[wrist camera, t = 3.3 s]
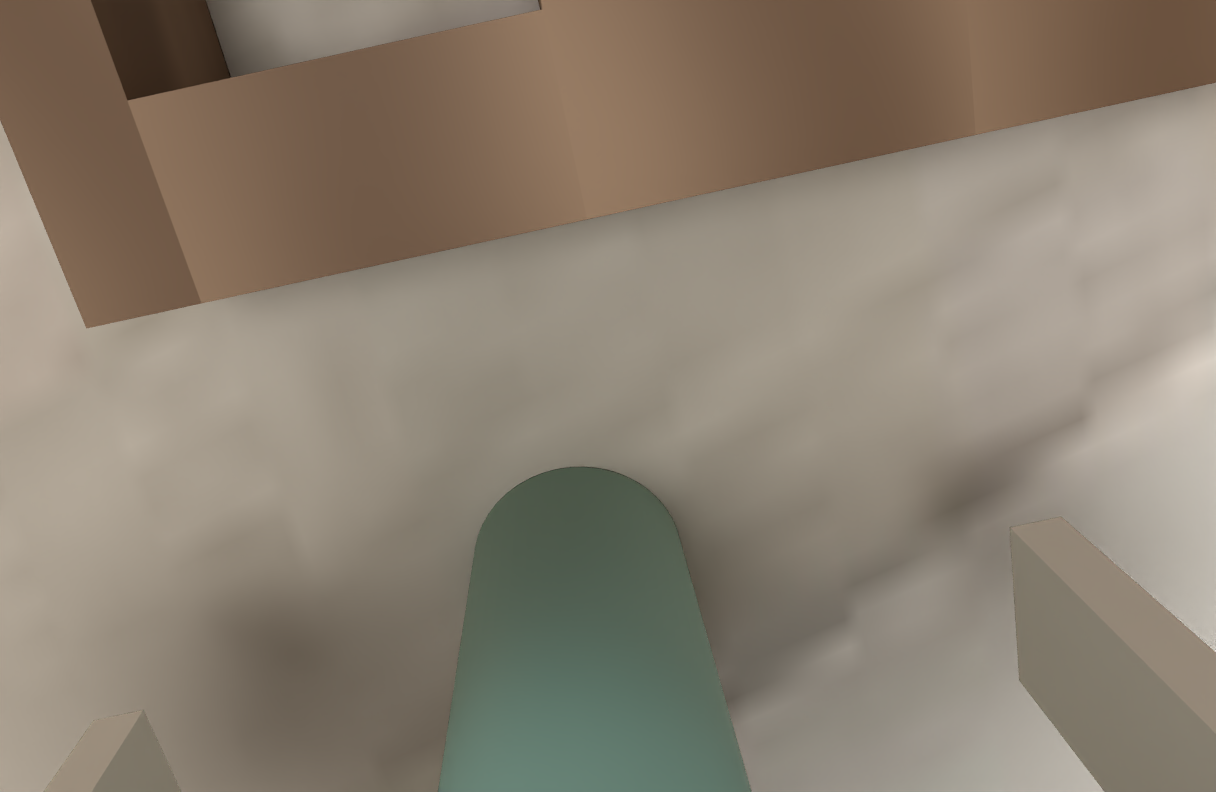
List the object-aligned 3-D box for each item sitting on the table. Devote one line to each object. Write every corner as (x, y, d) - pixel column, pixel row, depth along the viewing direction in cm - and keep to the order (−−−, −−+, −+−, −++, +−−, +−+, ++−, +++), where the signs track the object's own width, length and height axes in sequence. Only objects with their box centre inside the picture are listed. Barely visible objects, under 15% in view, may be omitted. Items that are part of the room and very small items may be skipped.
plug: (502, 669, 18) (430, 1606, 7) (450, 492, 17) (261, 1303, 6) (697, 627, 18) (935, 1505, 7) (661, 446, 17) (883, 1175, 6)
